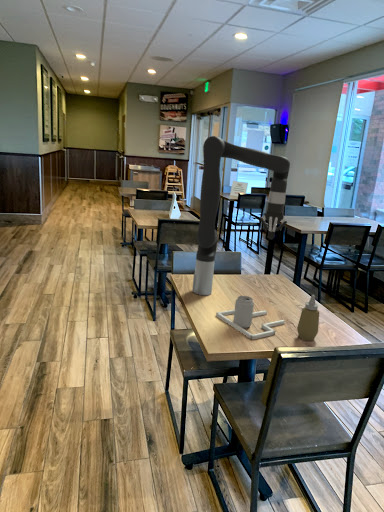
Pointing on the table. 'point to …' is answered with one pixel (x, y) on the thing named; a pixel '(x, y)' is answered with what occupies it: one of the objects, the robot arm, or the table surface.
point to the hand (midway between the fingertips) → (270, 238)
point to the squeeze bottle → (309, 321)
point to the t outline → (254, 336)
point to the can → (243, 311)
